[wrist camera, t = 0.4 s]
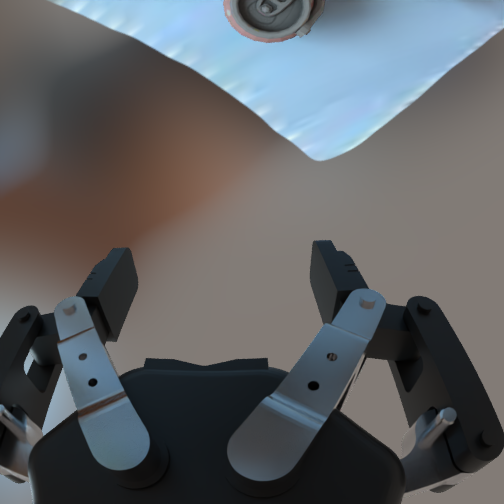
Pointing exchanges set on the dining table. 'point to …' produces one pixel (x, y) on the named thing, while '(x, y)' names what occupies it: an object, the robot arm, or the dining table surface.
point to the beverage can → (272, 18)
